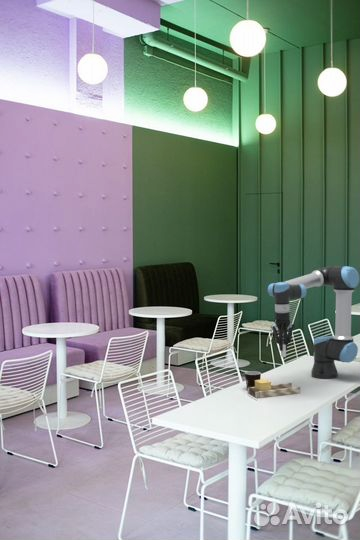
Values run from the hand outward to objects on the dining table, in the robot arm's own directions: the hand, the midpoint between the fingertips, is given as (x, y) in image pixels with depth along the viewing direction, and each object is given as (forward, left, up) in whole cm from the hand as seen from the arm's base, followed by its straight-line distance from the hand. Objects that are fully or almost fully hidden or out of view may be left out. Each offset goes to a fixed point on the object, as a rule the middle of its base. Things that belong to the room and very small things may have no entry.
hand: (283, 356), depth 325 cm
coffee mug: (+12, -13, -20) cm, 27 cm away
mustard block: (+12, 0, -19) cm, 22 cm away
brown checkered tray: (+6, 0, -20) cm, 21 cm away
